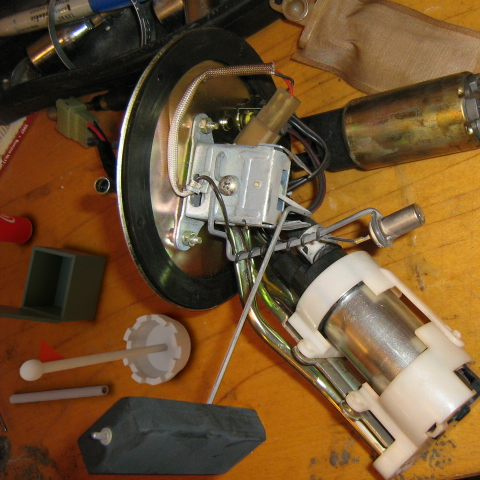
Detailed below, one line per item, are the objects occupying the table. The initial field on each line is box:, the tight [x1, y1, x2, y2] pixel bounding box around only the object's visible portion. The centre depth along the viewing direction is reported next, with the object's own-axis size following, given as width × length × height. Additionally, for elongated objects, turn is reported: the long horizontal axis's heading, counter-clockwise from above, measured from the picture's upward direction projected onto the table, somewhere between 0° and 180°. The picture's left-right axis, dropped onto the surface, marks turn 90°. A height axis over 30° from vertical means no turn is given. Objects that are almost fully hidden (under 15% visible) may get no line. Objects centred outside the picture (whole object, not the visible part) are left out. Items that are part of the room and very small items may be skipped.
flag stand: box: [19, 313, 192, 386], centre depth 77 cm, size 13×13×30 cm
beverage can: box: [0, 213, 33, 244], centre depth 104 cm, size 6×6×12 cm
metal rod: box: [9, 384, 110, 405], centre depth 99 cm, size 2×27×2 cm, turn 98°
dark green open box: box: [20, 245, 107, 323], centre depth 98 cm, size 14×13×8 cm
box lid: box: [0, 304, 61, 325], centre depth 87 cm, size 14×13×6 cm
